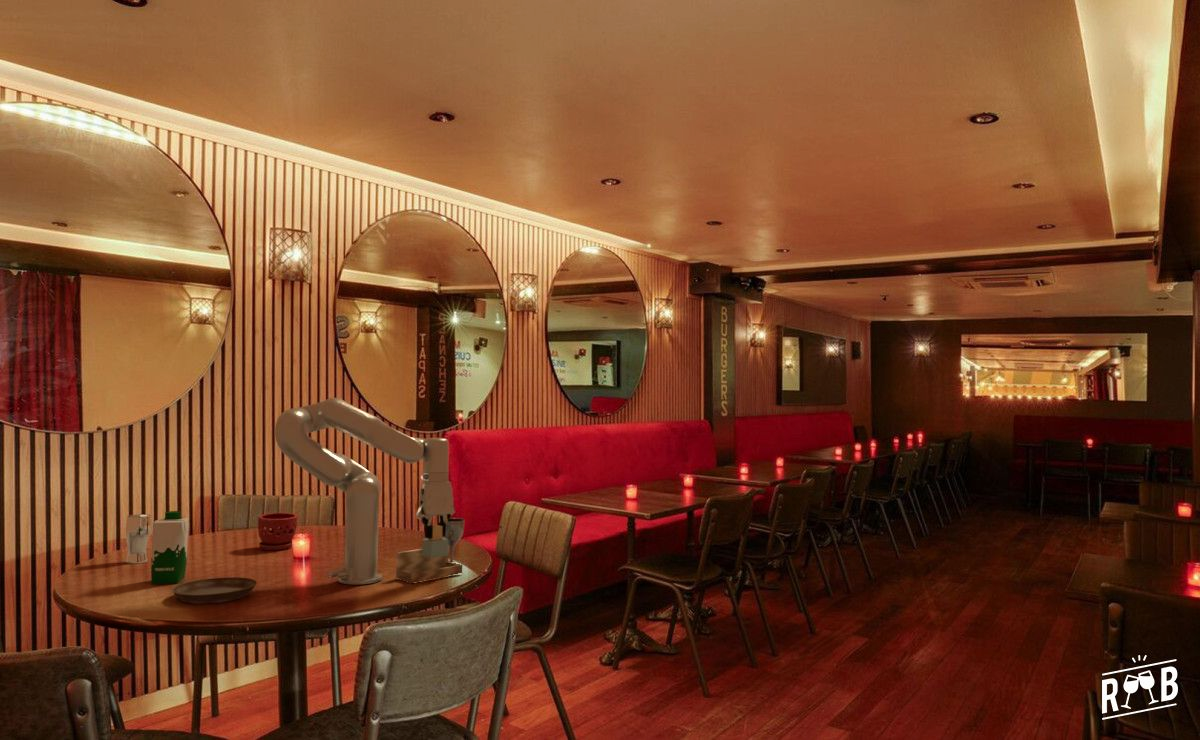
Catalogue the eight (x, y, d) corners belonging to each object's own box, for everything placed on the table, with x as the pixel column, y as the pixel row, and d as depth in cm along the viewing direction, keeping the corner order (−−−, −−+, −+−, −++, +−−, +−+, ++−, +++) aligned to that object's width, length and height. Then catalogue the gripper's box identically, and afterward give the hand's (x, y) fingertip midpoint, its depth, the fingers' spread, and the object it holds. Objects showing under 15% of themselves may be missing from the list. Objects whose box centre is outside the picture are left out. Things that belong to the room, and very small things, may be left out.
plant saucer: (162, 595, 206) (162, 583, 206) (240, 584, 220) (241, 572, 220) (185, 611, 191) (185, 598, 191) (267, 598, 205) (268, 585, 206)
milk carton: (188, 577, 226) (191, 510, 227) (180, 584, 217) (183, 515, 218) (156, 578, 224) (159, 511, 225) (146, 585, 215) (149, 515, 216)
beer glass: (153, 560, 249) (155, 514, 249) (138, 564, 242) (141, 517, 242) (134, 559, 249) (136, 513, 250) (118, 563, 242) (121, 516, 243)
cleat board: (412, 584, 223) (413, 557, 223) (396, 578, 229) (396, 552, 229) (462, 574, 236) (462, 549, 236) (445, 570, 242) (446, 545, 243)
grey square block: (431, 558, 228) (431, 528, 228) (422, 555, 231) (422, 526, 232) (447, 555, 232) (448, 526, 232) (438, 553, 236) (439, 524, 236)
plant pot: (248, 550, 267) (250, 516, 268) (274, 543, 280) (275, 511, 280) (279, 553, 264) (280, 518, 264) (303, 546, 276) (305, 513, 277)
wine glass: (450, 568, 245) (451, 522, 245) (434, 564, 249) (435, 519, 250) (468, 564, 251) (469, 519, 252) (452, 561, 256) (453, 517, 256)
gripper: (419, 480, 224) (418, 542, 223) (465, 476, 236) (464, 535, 235) (405, 478, 229) (404, 539, 228) (451, 475, 241) (450, 532, 241)
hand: (435, 536), depth 232 cm, fingers closed on grey square block, 4 cm apart
